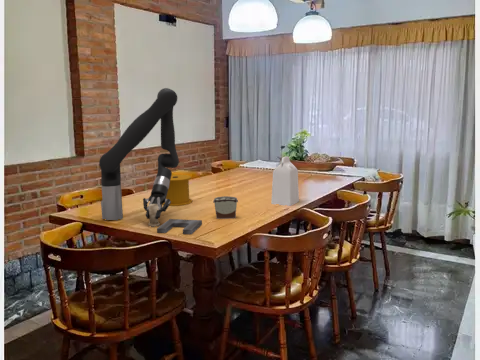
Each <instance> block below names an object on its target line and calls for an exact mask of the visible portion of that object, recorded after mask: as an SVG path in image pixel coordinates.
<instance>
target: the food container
mask: <svg viewBox="0 0 480 360" xmlns="http://www.w3.org/2000/svg"><path fill="white" fill-rule="evenodd" d="M237 203H239V199H238V198H237V197H236V196H230V195H229V196H217V197H214V199H213V202H212V204H214V209H215V217H216V220H217V219H219V220H220V219H221V220H222V219H224V220H225V219H236V218H237V217H236V214H237Z"/></svg>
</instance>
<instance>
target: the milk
mask: <svg viewBox="0 0 480 360" xmlns="http://www.w3.org/2000/svg"><path fill="white" fill-rule="evenodd" d="M271 184H272V186H271V202H270V203H271V205H276V204H279V205H278V206H285V205H287V207H291V206H293V205H295V204H297V203H299V202H300V195H299V193H300V192H299V170H298V168H297V167H296V166H295V165H294V164H293V163H292V162H291V160H290V157H289V156H287V155H286V156H283V157H281V163H279V165H277V166H276V167H275V169H274V170H273V171H272V183H271Z"/></svg>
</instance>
